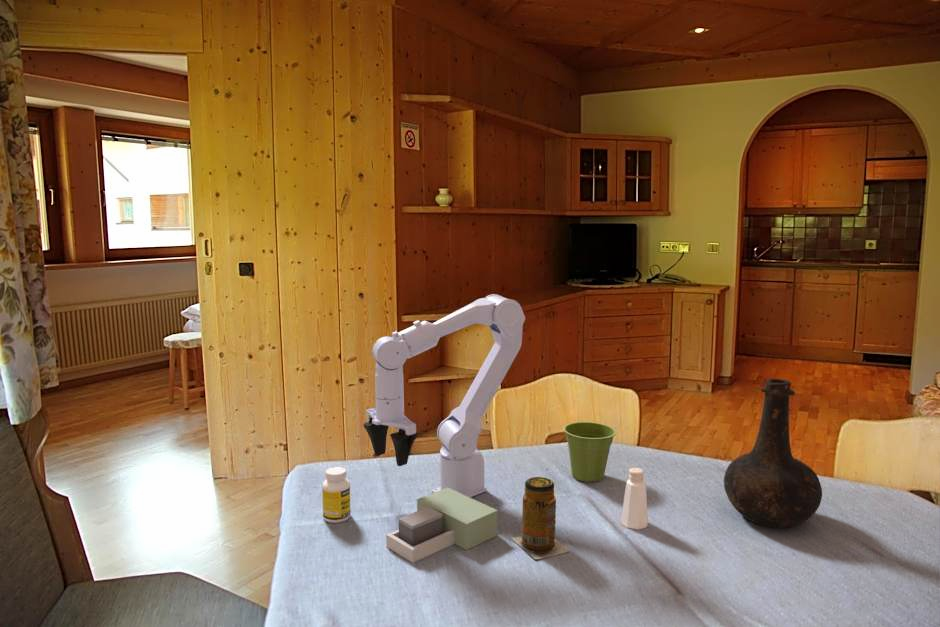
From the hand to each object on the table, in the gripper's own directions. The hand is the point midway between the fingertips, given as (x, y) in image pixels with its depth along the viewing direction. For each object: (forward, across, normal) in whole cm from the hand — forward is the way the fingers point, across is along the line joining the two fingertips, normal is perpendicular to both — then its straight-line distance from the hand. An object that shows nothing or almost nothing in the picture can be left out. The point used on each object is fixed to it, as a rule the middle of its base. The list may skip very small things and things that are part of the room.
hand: (390, 459), depth 138 cm
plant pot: (+10, +20, +41) cm, 47 cm away
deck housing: (+9, +18, -3) cm, 21 cm away
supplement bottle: (+10, -2, -12) cm, 15 cm away
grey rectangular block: (+9, +18, -7) cm, 21 cm away
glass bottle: (+10, +57, +51) cm, 77 cm away
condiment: (+10, +33, +9) cm, 36 cm away
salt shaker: (+10, +40, +29) cm, 50 cm away
